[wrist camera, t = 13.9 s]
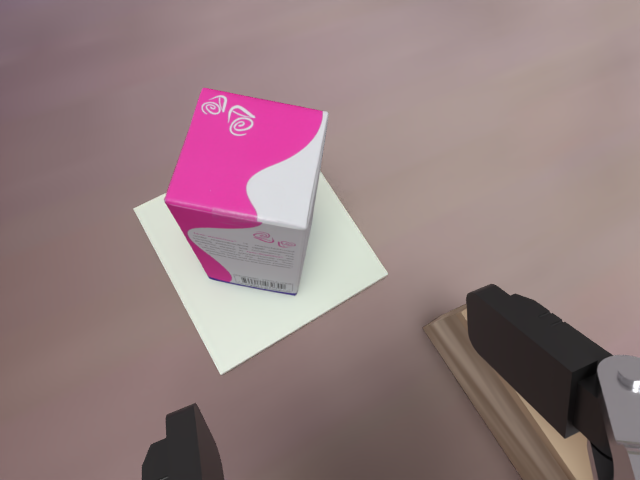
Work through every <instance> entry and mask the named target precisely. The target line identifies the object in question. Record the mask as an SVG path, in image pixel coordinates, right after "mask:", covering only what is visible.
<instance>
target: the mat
mask: <svg viewBox="0 0 640 480" xmlns="http://www.w3.org/2000/svg"><path fill="white" fill-rule="evenodd" d="M165 196H166V193H165V194H163V195H161V196H159V197H157V198H155V199H153V200H150V201H148V202H146V203H144V204H142V205H140V206H138V207H136V208H134V211H135V213H136V215H137V217H138V218H139V220H140V222H141V224H142V226H143V228H144V230H145V232H146V234H147V236H148V237H149V239H150V241H151V243H152V245H153V247H154V249H155V251H156V253H157V255H158V256H159V258H160V260H161V262H162V264H163V266H164V268H165V270H166V272H167V274H168V276H169V277H170V279H171V281H172V283H173V285H174V287H175V289H176V291H177V293H178V295H179V296H180V298H181V300H182V302H183V304H184V306H185V308H186V310H187V312H188V314H189V315H190V317H191V319H192V321H193V323H194V325H195V327H196V329H197V331H198V333H199V334H200V336H201V338H202V340H203V342H204V344H205V346H206V348H207V350H208V352H209V354H210V355H211V357H212V359H213V361H214V363H215V365H216V367H217V369H218V371H219V373H220V374H221V375H224V374H225V373H227V372H229V371H230V370H232V369H234V368H235V367H237V366H239V365H240V364H242V363H244V362H245V361H247V360H249V359H250V358H252V357H254V356H255V355H257V354H259V353H260V352H262V351H264V350H265V349H267V348H269V347H270V346H272V345H274V344H275V343H277V342H279V341H280V340H282V339H283V338H285V337H287V336H288V335H290V334H292V333H293V332H295V331H297V330H298V329H300V328H302V327H303V326H305V325H307V324H308V323H310V322H312V321H313V320H315V319H317V318H318V317H320V316H322V315H323V314H325V313H327V312H328V311H330V310H332V309H333V308H335V307H337V306H338V305H340V304H342V303H343V302H345V301H347V300H348V299H350V298H352V297H353V296H355V295H357V294H358V293H360V292H362V291H363V290H365V289H367V288H368V287H370V286H371V285H373V284H375V283H376V282H378V281H380V280H381V279H383V278H385V277H386V276H387V275H388V273H387V271H386V270H385V268H384V267H383V265H382V264H381V262H380V261H379V259H378V258H377V256H376V255H375V253H374V252H373V250H372V249H371V247H370V246H369V244H368V243H367V241H366V240H365V238H364V237H363V235H362V234H361V232H360V231H359V229H358V227H357V226H356V224H355V223H354V221H353V220H352V218H351V217H350V215H349V214H348V212H347V211H346V209H345V208H344V206H343V205H342V203H341V202H340V200H339V199H338V197H337V196H336V194H335V193H334V191H333V190H332V188H331V187H330V185H329V184H328V182H327V181H326V179H325V178H324V176H323V175H322V173H321V172H320V174H319V181H318V187H317V193H316V199H315V205H314V212H313V219H312V225H311V230H310V235H309V240H308V246H307V251H306V256H305V260H304V265H303V270H302V275H301V279H300V284H299V288H298V292H297V295H296V296H293V295H288V294H282V293H277V292H271V291H266V290H260V289H255V288H250V287H245V286H240V285H235V284H230V283H225V282H220V281H216V280H212V279H209V277H208V276H207V274H206V272H205V270H204V268H203V267H202V265H201V263H200V261H199V260H198V258H197V256H196V255H195V253H194V251H193V250H192V248H191V246H190V244H189V243H188V241H187V239H186V237H185V236H184V234H183V232H182V231H181V229H180V227H179V226H178V224H177V222H176V220H175V219H174V217H173V215H172V214H171V212H170V210H169V209H168V207H167V205H166V204H165V202H164V198H165Z"/></svg>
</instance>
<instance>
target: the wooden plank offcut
mask: <svg viewBox="0 0 640 480" xmlns="http://www.w3.org/2000/svg"><path fill="white" fill-rule="evenodd" d="M423 329H424V331H425V332H426V334H427V335H428V337H429V338H430V340H431V342H432V343H433V345H434V346H435V348H436V349H437V351H438V352H439V354H440V355H441V357H442V358H443V360H444V361H445V363H446V364H447V366H448V367H449V369H450V370H451V372H452V373H453V375H454V376H455V378H456V379H457V381H458V382H459V384H460V385H461V387H462V388H463V390H464V391H465V393H466V395H467V396H468V398H469V399H470V401H471V402H472V404H473V405H474V407H475V408H476V410H477V411H478V413H479V414H480V416H481V417H482V419H483V420H484V422H485V423H486V425H487V426H488V428H489V429H490V431H491V432H492V434H493V435H494V437H495V438H496V440H497V441H498V443H499V444H500V446H501V447H502V449H503V451H504V452H505V454H506V455H507V457H508V458H509V460H510V461H511V463H512V464H513V466H514V467H515V469H516V470H517V472H518V473H519V475H520V476H521V478H522V479H523V480H593V475H592V470H591V465H590V460H589V455H588V451H587V438H586V437H585V436H584V435H583V434H582V433H581V432H578V433H576V434H574V435H572V436H570V437H568V438H566V439H564V438H563V437H562V436H561V435H560V434H559V433H558V432H557V431H556V430H555V429H554V428H553V427H552V426H551V425H550V424H549V423H548V422H547V421H546V420H545V419H544V418H543V417H542V416H541V415H540V414H539V413H538V412H537V411H536V410H535V409H534V408H533V407H532V406H531V405H530V404H529V403H528V402H527V401H526V400H525V399H524V398H523V397H522V396H521V395H520V394H519V393H518V392H517V391H516V390H515V389H514V388H513V387H512V386H510V385H509V384H508V383H507V382H506V381H505V380H504V379H503V378H502V377H501V376H500V375H499V374H498V373H497V372H496V371H495V370H494V369H493V368H492V367H491V366H490V365H489V364H488V363H487V362H486V361H485V360H484V359H483V358H482V357H481V356H480V355H479V354H478V353H477V352H476V350H475V349H474V348H473V346H472V344H471V342H470V339H469V336H468V325H467V304H465V305H463V306H461V307H458V308H456V309H454V310H452V311H450V312H448V313H445V314H443V315H441V316H440V317H438V318H437V319H435V320H434V321H432V322H431V323H429V324H428V325H426V326H425V327H423Z"/></svg>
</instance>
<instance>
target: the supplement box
mask: <svg viewBox="0 0 640 480" xmlns="http://www.w3.org/2000/svg"><path fill="white" fill-rule="evenodd" d="M327 123H328V112H326V111H320V110H315V109H310V108H305V107H300V106H295V105H290V104H284V103H279V102H274V101H269V100H264V99H258V98H253V97H249V96H243V95H238V94H233V93H228V92H223V91H218V90H213V89H208V88H202V90H201V93H200V96H199V99H198V102H197V105H196V108H195V111H194V115H193V118H192V121H191V125H190V128H189V130H188V133H187V136H186V139H185V141H184V144H183V147H182V150H181V153H180V156H179V159H178V161H177V164H176V167H175V170H174V173H173V176H172V179H171V181H170V184H169V187H168V190H167V193H166V196H165V198H164V202H165V204H166V205H167V207H168V209H169V210H170V212H171V214H172V215H173V217H174V219H175V220H176V222H177V224H178V226H179V227H180V229H181V231H182V232H183V234H184V236H185V237H186V239H187V241H188V243H189V244H190V246H191V248H192V250H193V251H194V253H195V255H196V256H197V258H198V260H199V261H200V263H201V265H202V267H203V268H204V270H205V272H206V274H207V276H208V277H209V279H212V280H216V281H220V282H225V283H230V284H235V285H240V286H245V287H250V288H255V289H260V290H266V291H271V292H277V293H282V294H288V295H293V296H296V295H297V292H298V288H299V284H300V279H301V275H302V270H303V265H304V260H305V256H306V251H307V246H308V240H309V235H310V230H311V225H312V219H313V212H314V205H315V199H316V193H317V187H318V181H319V174H320V168H321V162H322V156H323V149H324V143H325V137H326V130H327Z"/></svg>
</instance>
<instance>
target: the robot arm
mask: <svg viewBox="0 0 640 480" xmlns="http://www.w3.org/2000/svg"><path fill="white" fill-rule="evenodd" d="M466 304H467V325H468V336H469V339H470V342H471V344H472V346H473V348H474V349H475V350H476V352H477V353H478V354H479V355H480V356H481V357H482V358H483V359H484V360H485V361H486V362H487V363H488V364H489V365H490V366H491V367H492V368H493V369H494V370H495V371H496V372H497V373H498V374H499V375H500V376H501V377H502V378H503V379H504V380H505V381H506V382H507V383H508V384H509V385H510V386H512V387H513V388H514V389H515V390H516V391H517V392H518V393H519V394H520V395H521V396H522V397H523V398H524V399H525V400H526V401H527V402H528V403H529V404H530V405H531V406H532V407H533V408H534V409H535V410H536V411H537V412H538V413H539V414H540V415H541V416H542V417H543V418H544V419H545V420H546V421H547V422H548V423H549V424H550V425H551V426H552V427H553V428H554V429H555V430H556V431H557V432H558V433H559V434H560V435H561V436H562V437H563V438H564V439H566V438H568V437H570V436H572V435H574V434H576V433H578V432H581V433H582V434H583V435H584V436H585V437H586V438H587V451H588V455H589V460H590V465H591V470H592V475H593V480H640V358H638V357H634V356H628V355H615V356H613V355H612V354H610V353H609V352H607V351H606V350H604V349H603V348H601V347H600V346H599V345H597V344H596V343H594V342H593V341H591V340H590V339H589V338H587V337H586V336H584V335H583V334H582V333H580V332H579V331H577V330H576V329H574V328H573V327H572V326H570V325H569V324H567V323H566V322H562V319H560V318H559V317H557V316H556V315H554V314H553V313H550V311H549V310H547V309H546V308H545V307H543V306H542V305H540V304H539V303H537V302H536V301H535V300H532V299H529V298H526V297H523V296H521V295H518V294H513V295H511V296H510V295H509V294H507V293H506V292H505V291H503V290H502V289H500V288H499V287H498V286H496V285H494V284H490V285H487V286H485V287H482V288H480V289H477V290H475V291H473V292H470V293H468V294H467V297H466ZM142 480H224V475H223V469H222V463H221V459H220V455H219V452H218V449H217V446H216V443H215V441H214V438H213V436H212V434H211V432H210V430H209V428H208V426H207V424H206V422H205V420H204V418H203V416H202V414H201V412H200V410H199V408H198V406H197V404H196V403H194V404H192V405H189V406H187V407H184V408H182V409H180V410H177V411H175V412H172V413H170V414H167V415H166V438H165V439H163V440H160V441H158V442H156V443H153V444H151V445H150V448H149V450H148V453H147V455H146V458H145V460H144V462H143V465H142Z"/></svg>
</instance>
